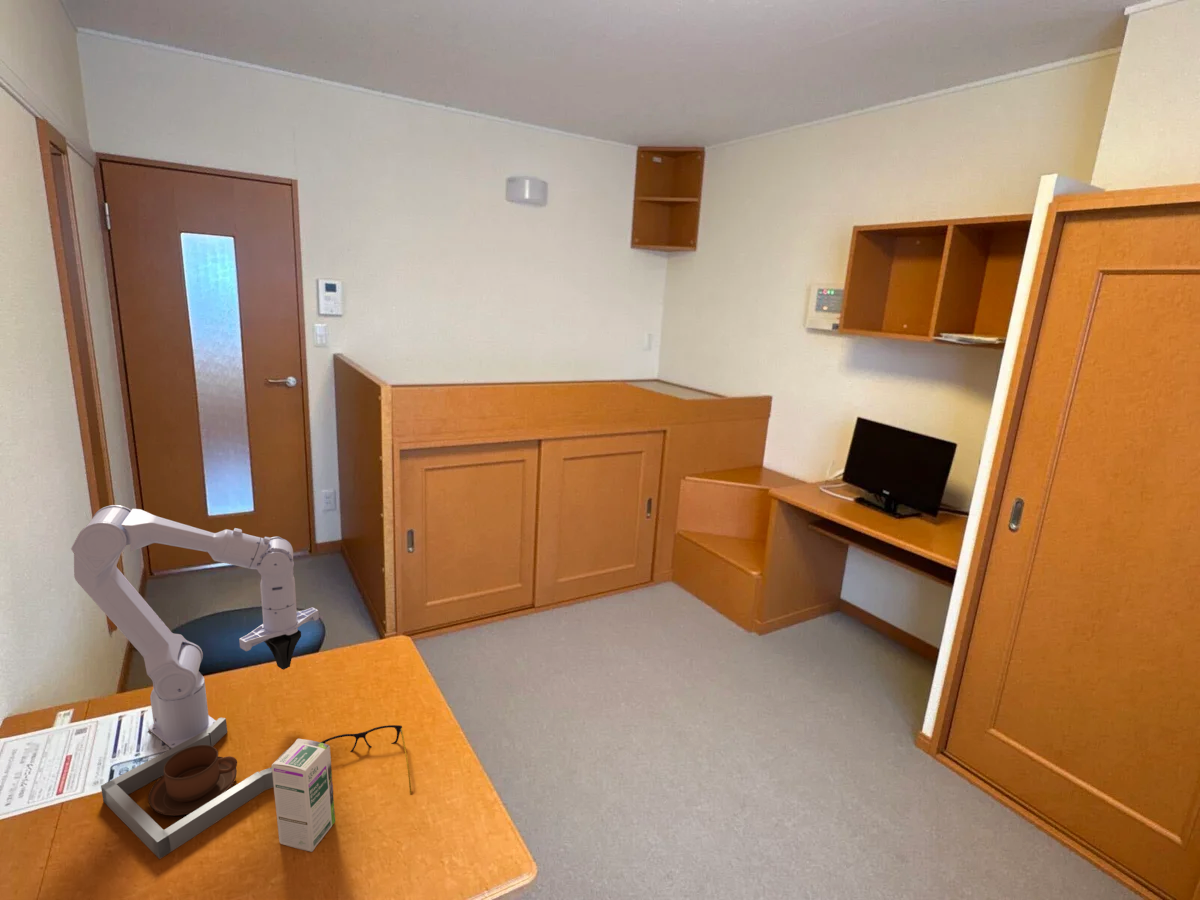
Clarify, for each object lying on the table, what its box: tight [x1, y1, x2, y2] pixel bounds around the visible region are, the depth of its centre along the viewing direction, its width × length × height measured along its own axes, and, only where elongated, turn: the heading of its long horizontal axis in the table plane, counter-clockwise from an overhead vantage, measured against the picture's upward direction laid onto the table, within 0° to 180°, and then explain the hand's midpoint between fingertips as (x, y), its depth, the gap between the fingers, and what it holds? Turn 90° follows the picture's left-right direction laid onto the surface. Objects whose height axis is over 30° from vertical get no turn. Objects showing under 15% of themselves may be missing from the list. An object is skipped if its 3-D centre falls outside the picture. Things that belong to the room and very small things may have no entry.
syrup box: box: [271, 738, 336, 853], centre depth 93 cm, size 6×6×14 cm
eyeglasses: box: [319, 724, 412, 795], centre depth 106 cm, size 14×14×4 cm
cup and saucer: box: [148, 745, 238, 816], centre depth 100 cm, size 12×12×6 cm
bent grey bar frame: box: [100, 717, 274, 860], centre depth 101 cm, size 21×19×3 cm
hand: (283, 666), depth 119 cm, fingers closed
